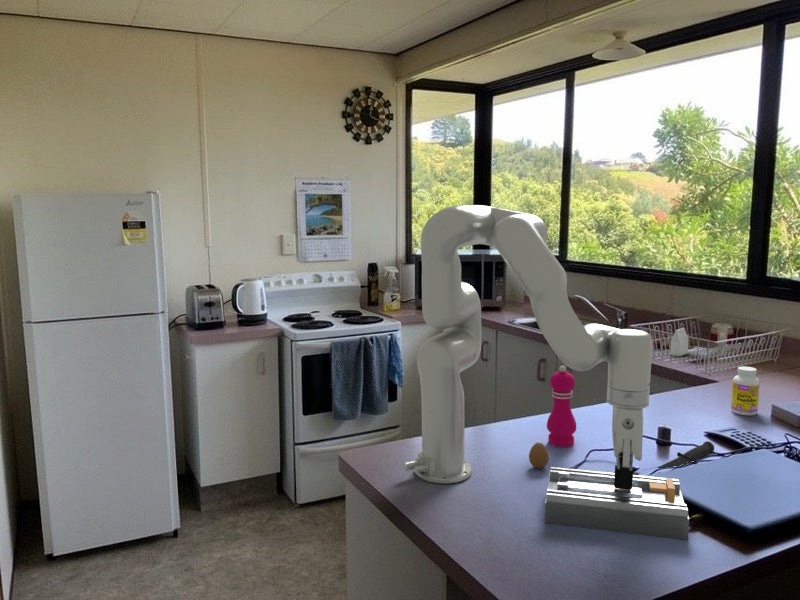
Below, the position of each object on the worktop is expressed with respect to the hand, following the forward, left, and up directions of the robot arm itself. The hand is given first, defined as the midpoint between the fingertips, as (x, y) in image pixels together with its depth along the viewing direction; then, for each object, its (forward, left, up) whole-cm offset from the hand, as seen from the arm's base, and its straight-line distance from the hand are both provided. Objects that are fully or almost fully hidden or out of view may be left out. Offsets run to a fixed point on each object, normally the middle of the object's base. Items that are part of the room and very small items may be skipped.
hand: (622, 487), depth 123 cm
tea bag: (+120, +81, -6) cm, 145 cm away
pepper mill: (+16, +34, -6) cm, 38 cm away
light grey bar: (-3, +3, -1) cm, 4 cm away
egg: (+1, +25, -6) cm, 26 cm away
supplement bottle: (+76, +25, -6) cm, 80 cm away
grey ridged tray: (-1, +1, -6) cm, 6 cm away
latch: (+5, -5, -1) cm, 7 cm away
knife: (+31, +11, -6) cm, 33 cm away
